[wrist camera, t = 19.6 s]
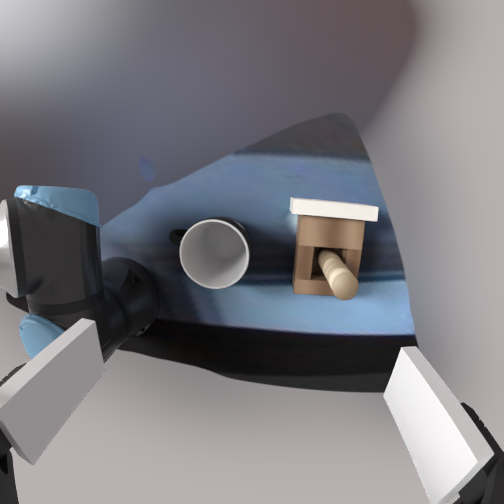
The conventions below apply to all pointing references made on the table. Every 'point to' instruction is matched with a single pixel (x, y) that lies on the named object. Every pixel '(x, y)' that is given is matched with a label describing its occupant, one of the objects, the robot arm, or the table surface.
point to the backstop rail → (333, 209)
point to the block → (324, 235)
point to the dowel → (337, 274)
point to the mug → (214, 251)
